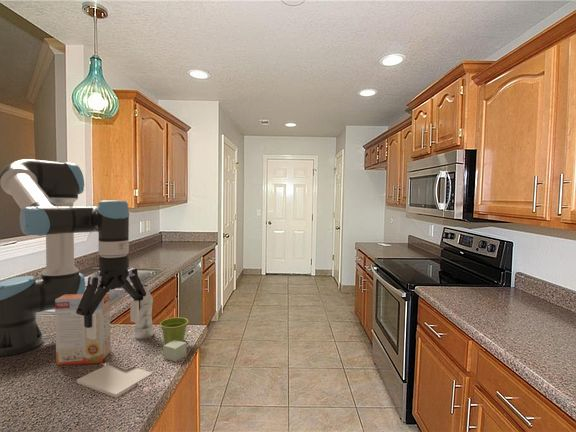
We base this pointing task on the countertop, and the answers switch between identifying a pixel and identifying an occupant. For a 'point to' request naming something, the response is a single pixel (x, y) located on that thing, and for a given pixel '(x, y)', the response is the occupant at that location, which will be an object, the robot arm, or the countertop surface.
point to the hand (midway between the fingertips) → (114, 329)
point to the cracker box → (80, 332)
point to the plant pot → (174, 329)
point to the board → (113, 379)
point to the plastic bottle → (145, 317)
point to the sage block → (174, 350)
